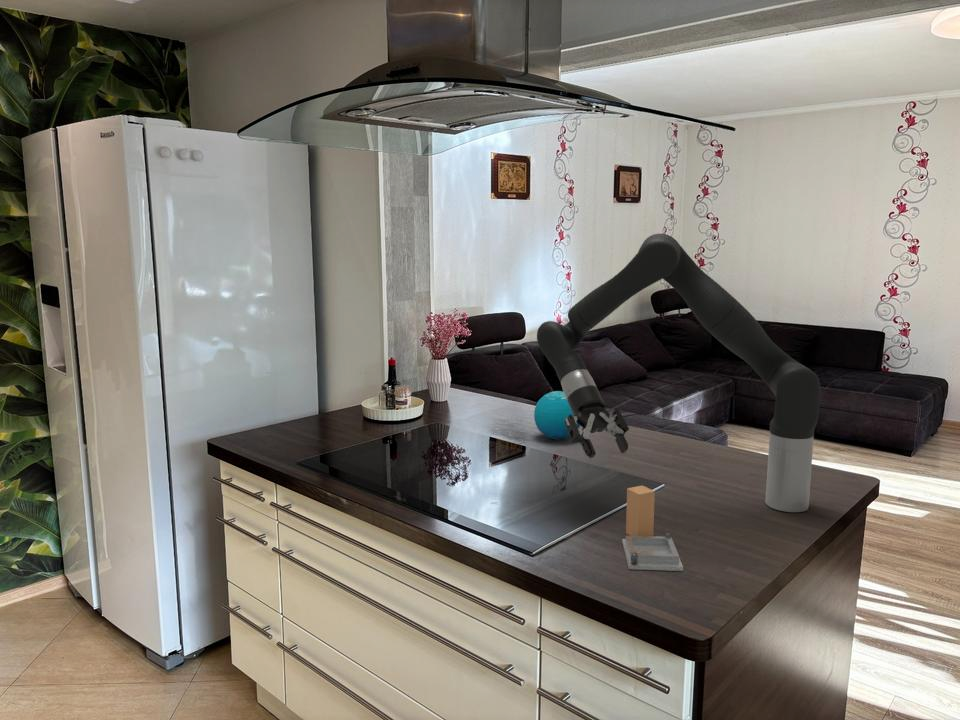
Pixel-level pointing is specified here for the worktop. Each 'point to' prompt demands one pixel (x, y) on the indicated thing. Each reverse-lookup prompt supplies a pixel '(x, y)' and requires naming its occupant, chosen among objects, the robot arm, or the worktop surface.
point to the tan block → (640, 511)
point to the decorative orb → (553, 415)
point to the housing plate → (651, 553)
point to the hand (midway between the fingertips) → (609, 453)
